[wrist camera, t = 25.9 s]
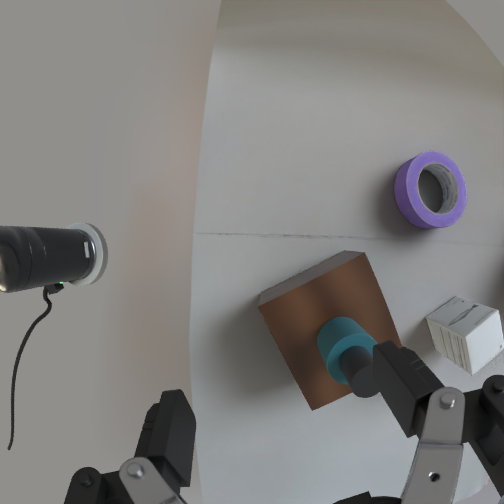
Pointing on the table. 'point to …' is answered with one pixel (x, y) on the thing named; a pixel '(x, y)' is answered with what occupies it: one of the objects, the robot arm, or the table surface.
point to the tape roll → (449, 182)
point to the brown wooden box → (324, 318)
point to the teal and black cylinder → (348, 355)
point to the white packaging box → (466, 333)
